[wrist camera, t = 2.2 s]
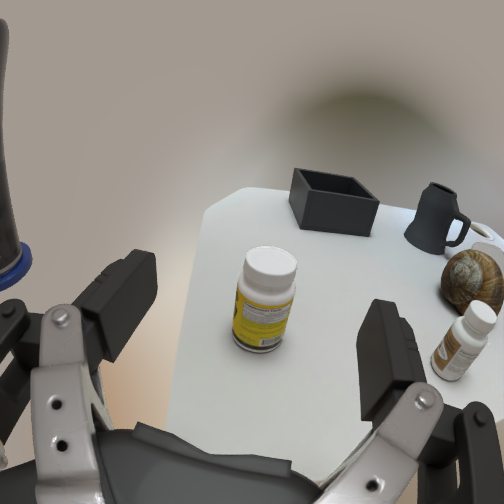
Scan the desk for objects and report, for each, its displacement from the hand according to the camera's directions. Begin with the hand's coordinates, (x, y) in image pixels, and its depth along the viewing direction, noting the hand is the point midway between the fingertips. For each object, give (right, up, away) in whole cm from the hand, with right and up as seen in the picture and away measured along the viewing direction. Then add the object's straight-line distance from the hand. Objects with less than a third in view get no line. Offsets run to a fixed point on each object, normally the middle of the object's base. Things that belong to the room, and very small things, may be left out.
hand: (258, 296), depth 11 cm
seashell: (+30, -6, +24) cm, 39 cm away
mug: (+33, +3, +39) cm, 52 cm away
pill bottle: (+20, -11, +14) cm, 27 cm away
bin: (+13, +8, +43) cm, 45 cm away
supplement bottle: (0, -6, +17) cm, 18 cm away
